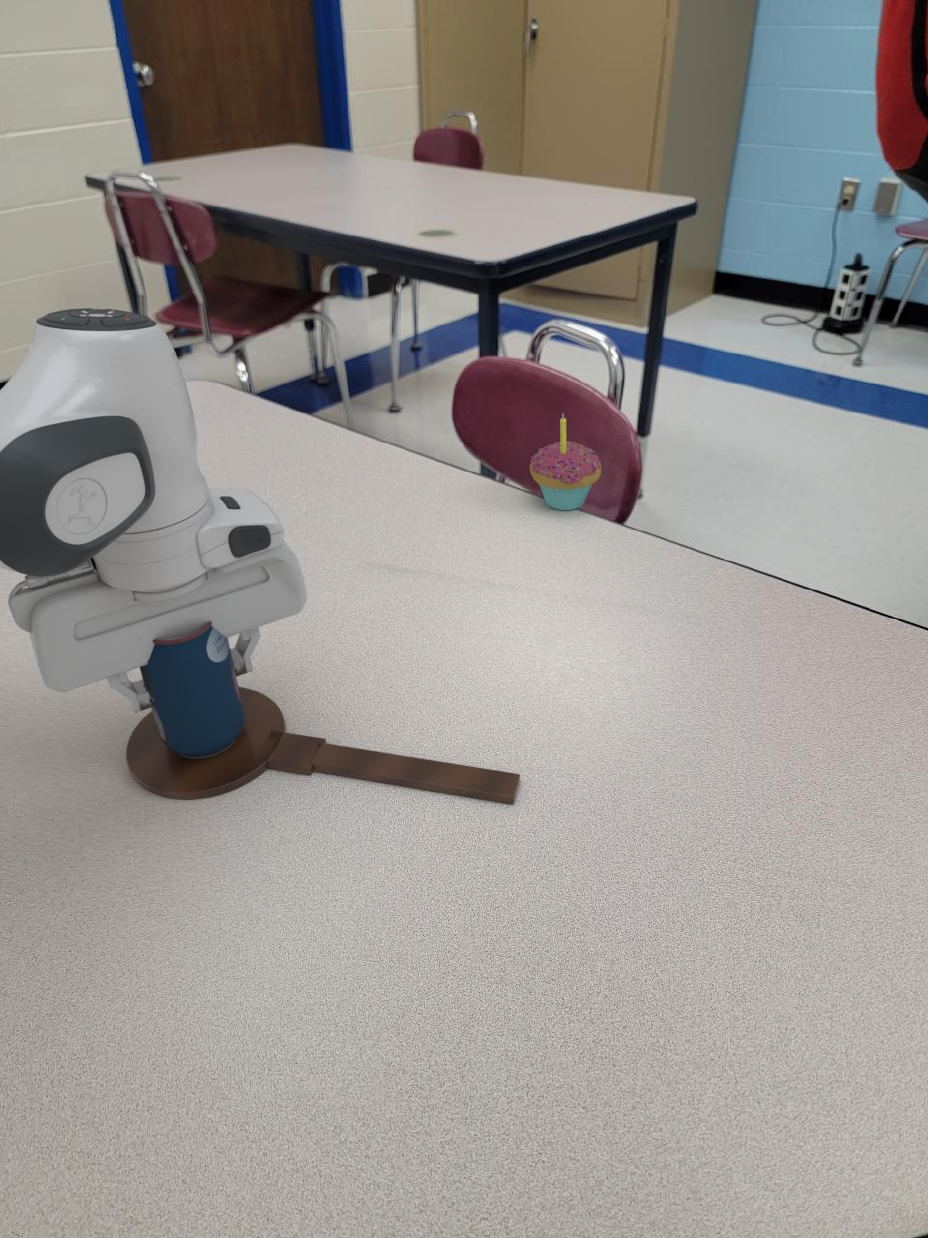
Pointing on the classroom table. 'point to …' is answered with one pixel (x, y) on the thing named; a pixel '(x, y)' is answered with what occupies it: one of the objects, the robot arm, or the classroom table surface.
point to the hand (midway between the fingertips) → (193, 687)
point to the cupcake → (565, 471)
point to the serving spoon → (295, 761)
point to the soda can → (195, 693)
